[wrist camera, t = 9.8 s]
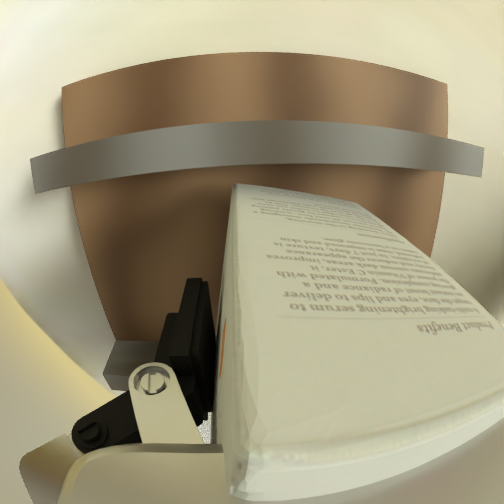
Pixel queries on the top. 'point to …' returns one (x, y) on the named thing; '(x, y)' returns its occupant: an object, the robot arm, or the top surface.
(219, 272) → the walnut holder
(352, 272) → the small box
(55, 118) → the top surface
